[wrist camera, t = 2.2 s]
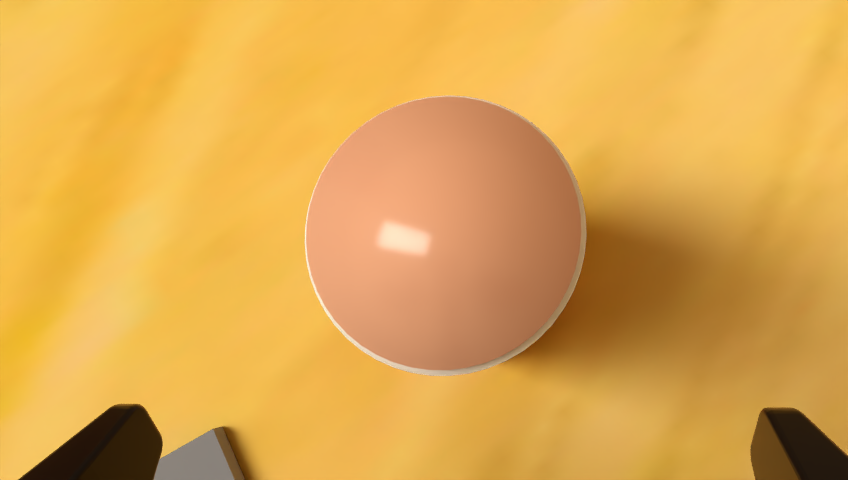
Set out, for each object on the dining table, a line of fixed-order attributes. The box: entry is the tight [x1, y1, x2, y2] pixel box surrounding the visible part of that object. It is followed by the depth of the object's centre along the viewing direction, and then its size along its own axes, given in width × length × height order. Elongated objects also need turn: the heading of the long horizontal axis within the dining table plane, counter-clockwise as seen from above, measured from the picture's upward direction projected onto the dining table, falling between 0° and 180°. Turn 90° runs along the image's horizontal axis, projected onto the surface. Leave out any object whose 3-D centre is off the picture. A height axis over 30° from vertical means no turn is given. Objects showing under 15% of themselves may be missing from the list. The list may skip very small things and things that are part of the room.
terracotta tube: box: [305, 96, 587, 376], centre depth 15 cm, size 5×5×9 cm
